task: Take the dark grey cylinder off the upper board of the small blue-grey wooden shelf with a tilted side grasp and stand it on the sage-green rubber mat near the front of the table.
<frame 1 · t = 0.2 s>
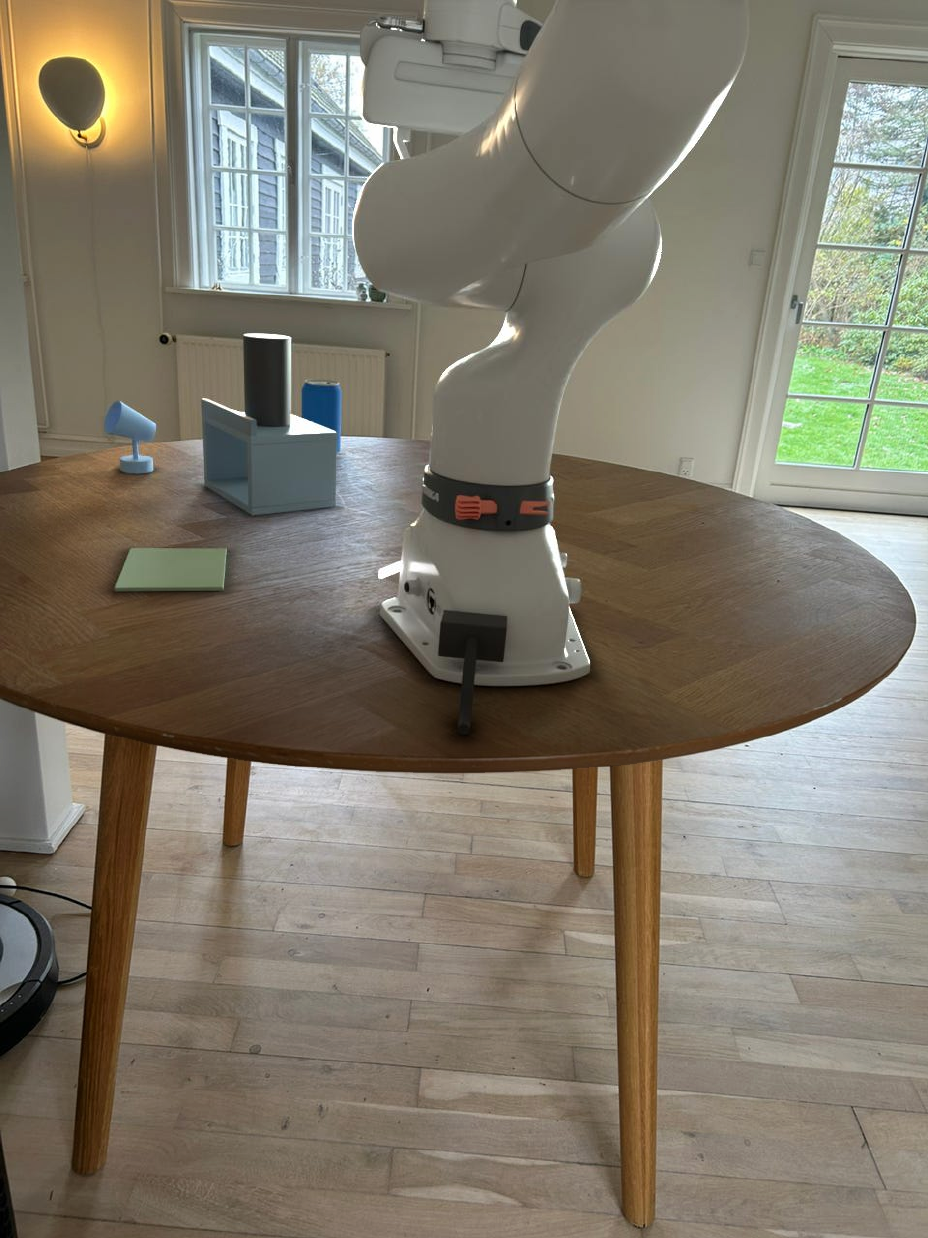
hand: (454, 186, 89), 39 cm above the table, tool pointing down, fingers open, 8 cm apart
beverage can: (320, 455, 143), on the table
shelf: (268, 495, 117), on the table
spotlight: (133, 471, 124), on the table
mat: (174, 570, 88), on the table
dark grey cylinder: (268, 422, 113), point 10 cm above the table, touching shelf
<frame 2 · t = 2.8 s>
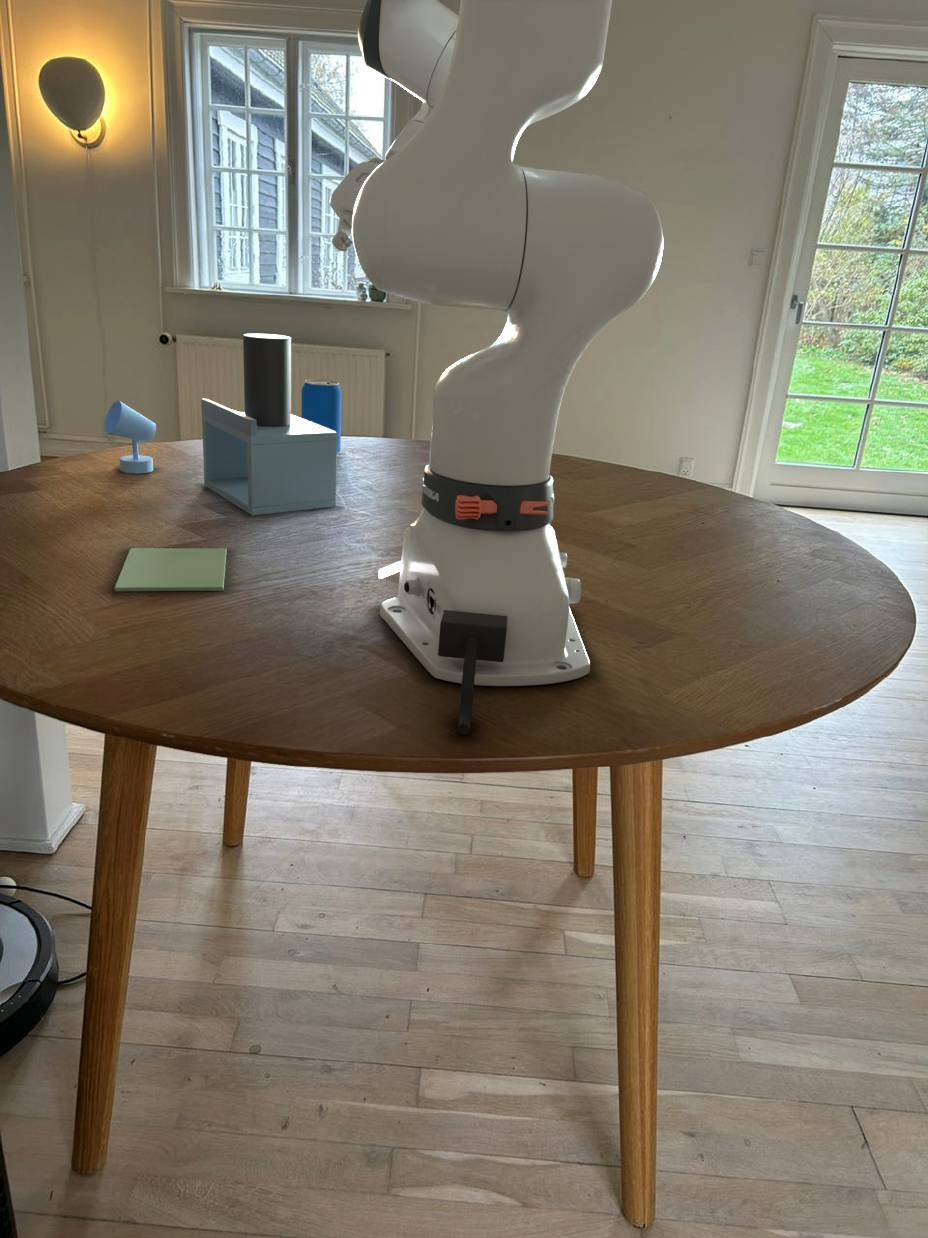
hand: (361, 254, 109), 32 cm above the table, tool tilted 40°, fingers open, 8 cm apart
nothing on the table moved.
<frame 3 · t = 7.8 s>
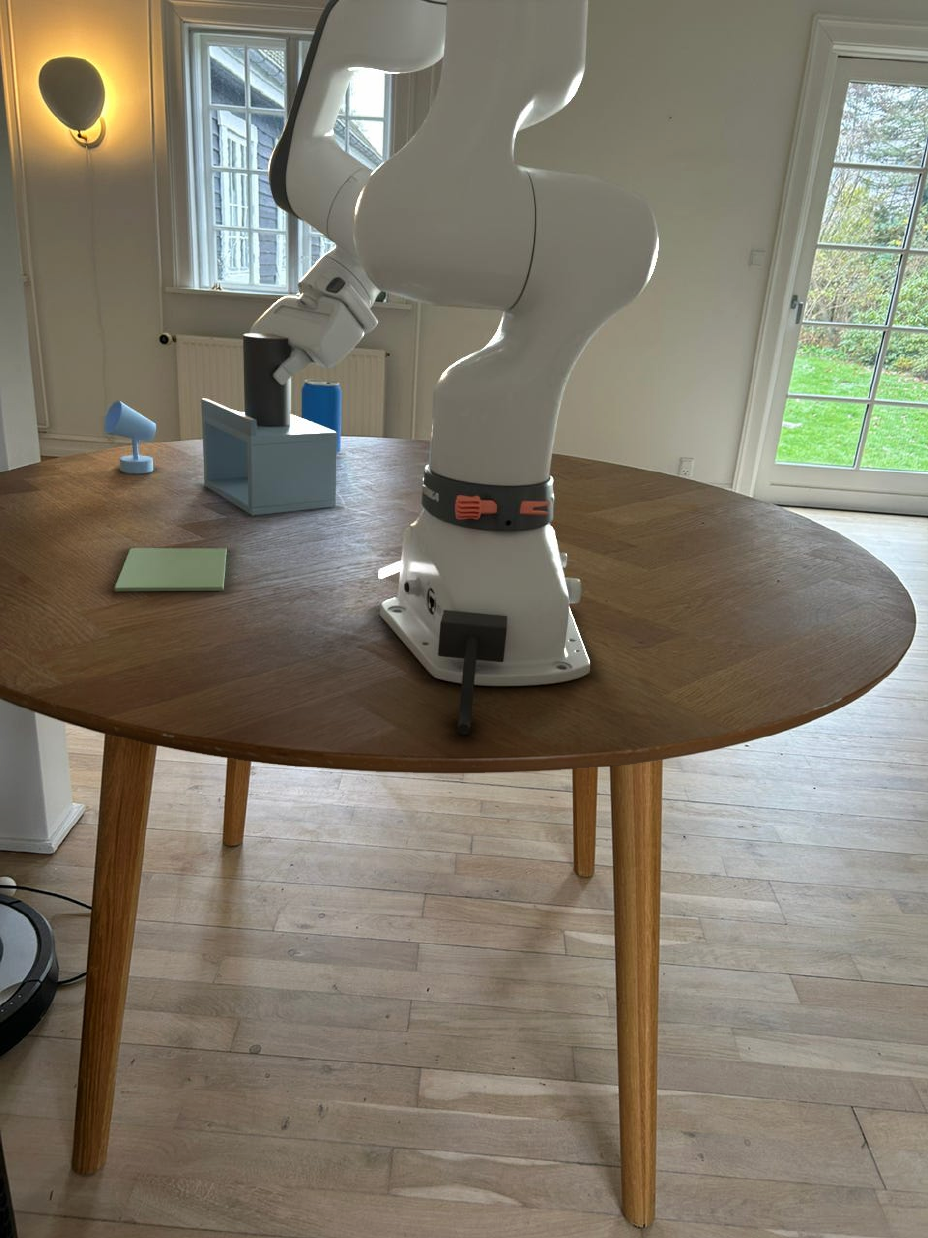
hand: (263, 376, 111), 16 cm above the table, tool tilted 45°, fingers closed on dark grey cylinder, 6 cm apart
dark grey cylinder: (268, 422, 113), point 10 cm above the table, touching gripper, shelf
everything else where it was.
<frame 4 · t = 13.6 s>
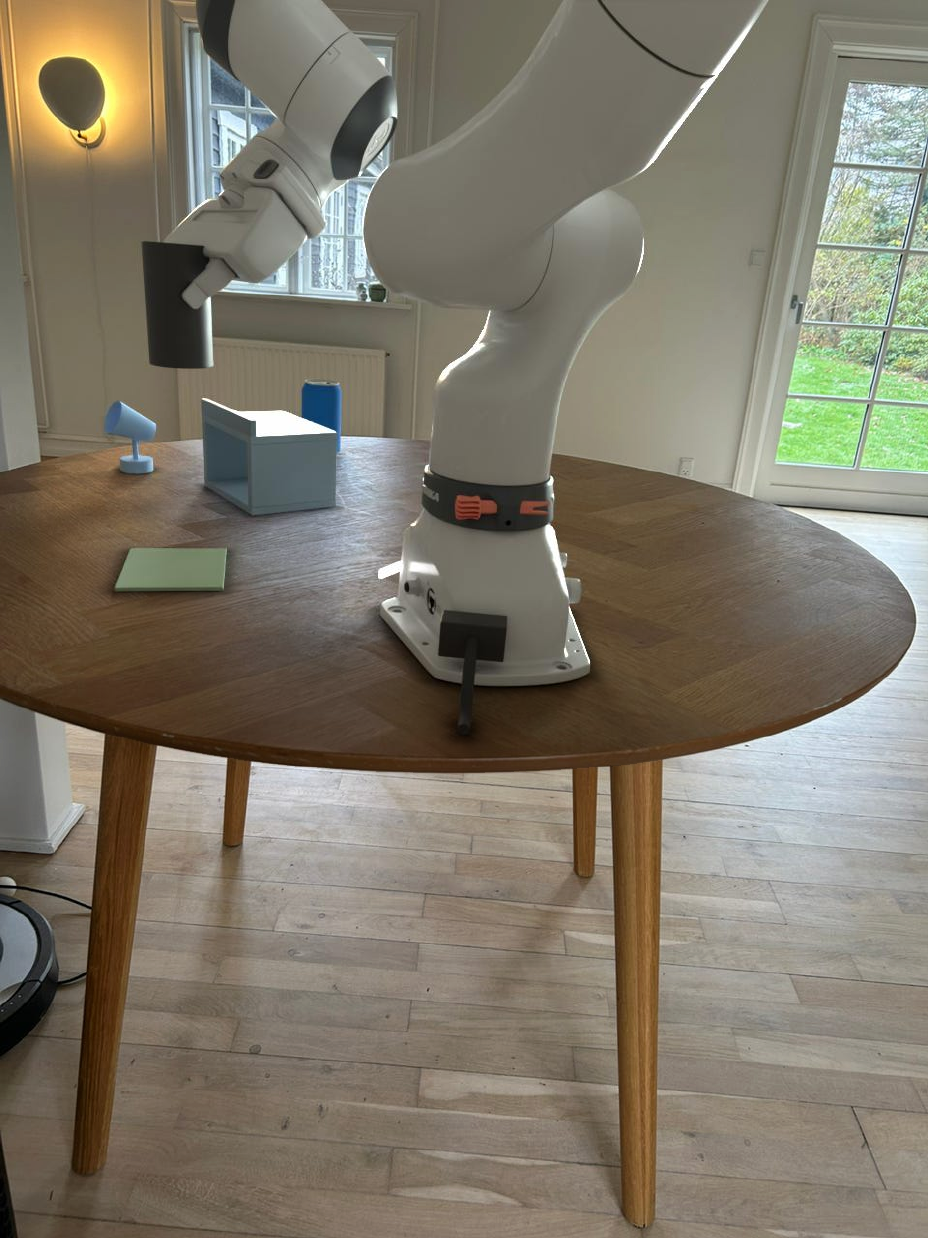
hand: (172, 300, 81), 26 cm above the table, tool tilted 45°, fingers closed on dark grey cylinder, 6 cm apart
dark grey cylinder: (181, 364, 84), point 20 cm above the table, touching gripper
everything else where it was.
when the fingers open (6 cm above the table, at t = 19.9 s): dark grey cylinder stays where it is, resting on mat.
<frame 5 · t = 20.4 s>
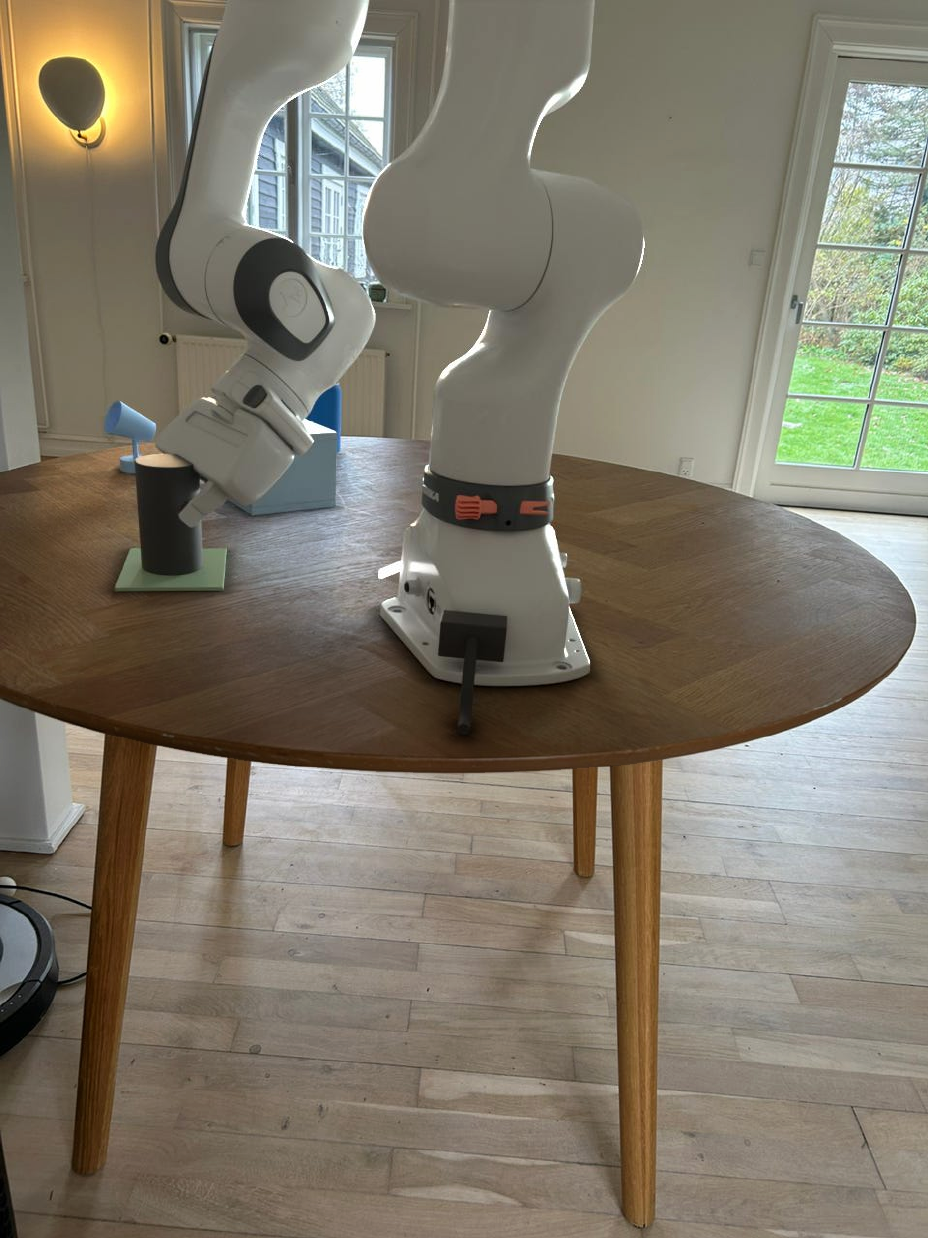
hand: (165, 509, 85), 7 cm above the table, tool tilted 45°, fingers open, 8 cm apart
dark grey cylinder: (172, 565, 88), resting on mat
everything else where it was.
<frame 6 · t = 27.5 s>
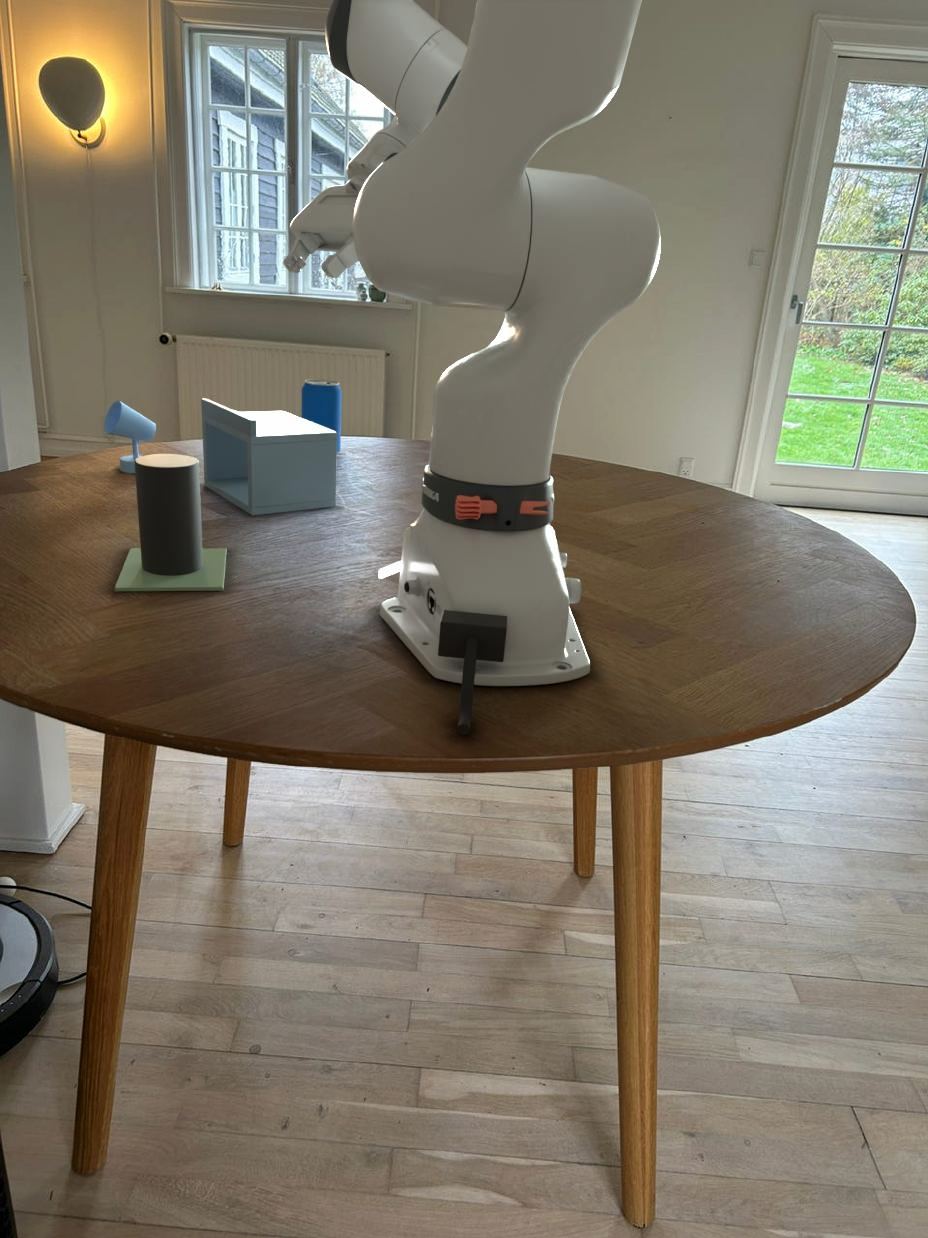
hand: (307, 270, 97), 29 cm above the table, tool tilted 45°, fingers open, 8 cm apart
nothing on the table moved.
at the end: dark grey cylinder inside the target area on the mat (0.3 cm from its centre), point 0.4 cm above the mat's base; dark grey cylinder tilted 0°; the gripper is holding nothing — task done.
